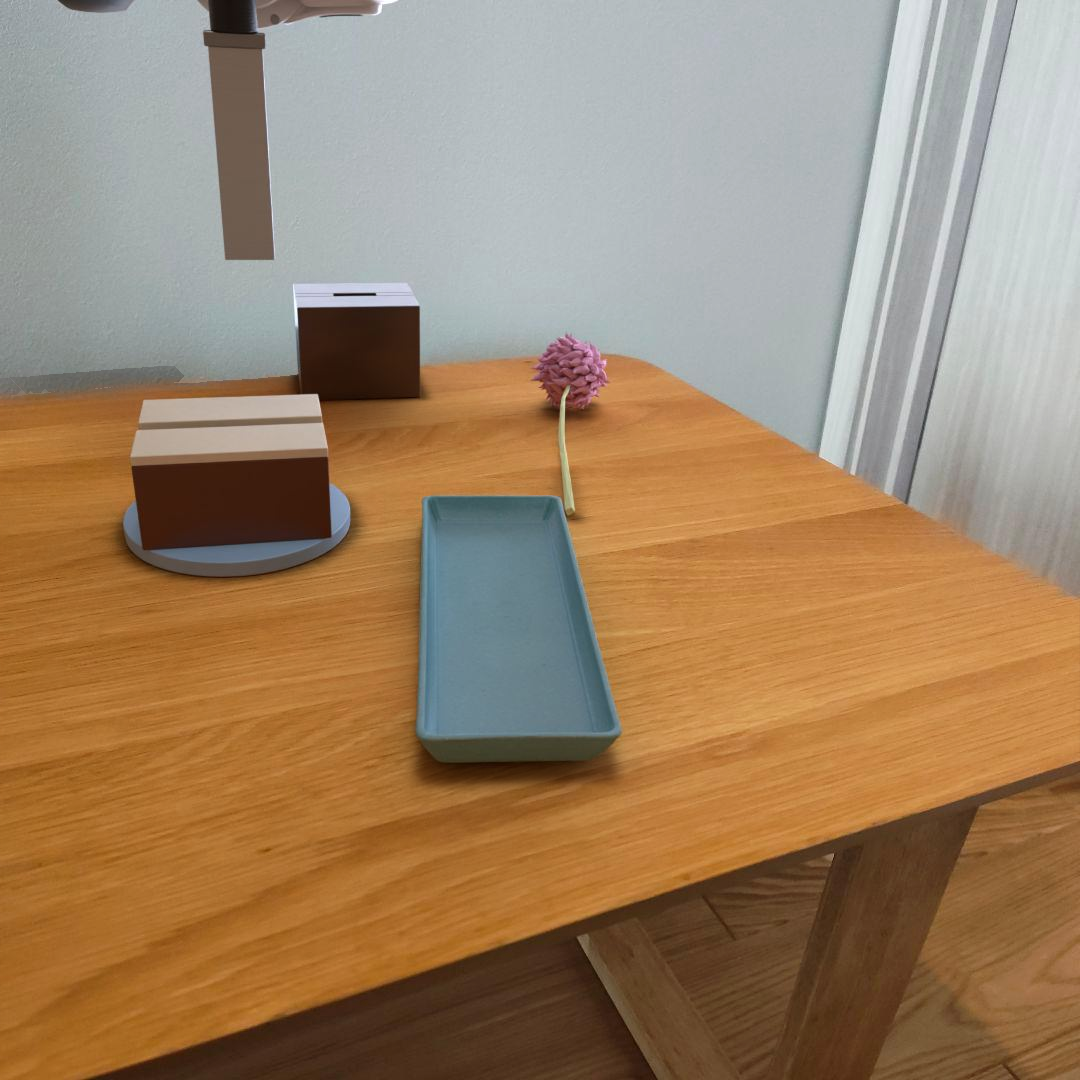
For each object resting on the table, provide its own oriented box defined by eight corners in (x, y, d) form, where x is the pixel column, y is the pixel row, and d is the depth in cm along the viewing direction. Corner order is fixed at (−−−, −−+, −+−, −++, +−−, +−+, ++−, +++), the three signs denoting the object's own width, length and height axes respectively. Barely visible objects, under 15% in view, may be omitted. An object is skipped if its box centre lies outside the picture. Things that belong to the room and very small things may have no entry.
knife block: (302, 401, 89) (297, 307, 86) (297, 371, 96) (292, 283, 92) (420, 397, 92) (420, 305, 88) (407, 368, 98) (407, 282, 95)
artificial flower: (631, 551, 74) (609, 385, 94) (624, 466, 70) (602, 312, 90) (536, 561, 74) (534, 393, 94) (524, 477, 70) (524, 321, 90)
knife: (221, 264, 64) (185, -177, 54) (222, 254, 67) (187, -171, 56) (279, 264, 65) (254, -170, 55) (277, 254, 67) (253, -164, 57)
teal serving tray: (421, 522, 70) (421, 488, 69) (558, 523, 71) (561, 489, 70) (414, 783, 47) (414, 738, 46) (619, 780, 48) (624, 735, 46)
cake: (113, 585, 61) (96, 473, 57) (134, 486, 73) (121, 389, 69) (360, 567, 64) (357, 460, 61) (341, 475, 76) (338, 382, 73)
